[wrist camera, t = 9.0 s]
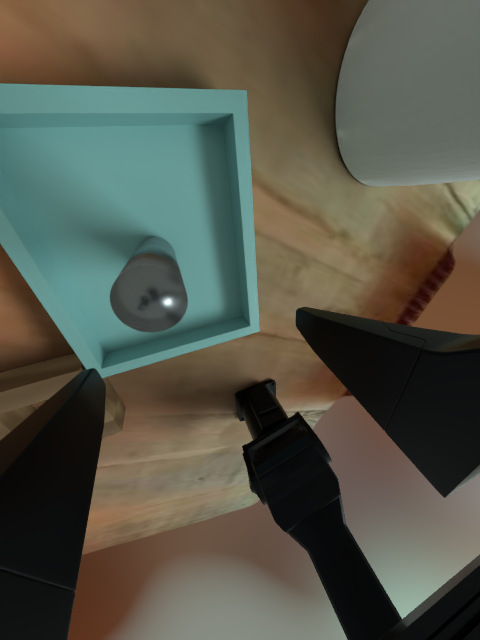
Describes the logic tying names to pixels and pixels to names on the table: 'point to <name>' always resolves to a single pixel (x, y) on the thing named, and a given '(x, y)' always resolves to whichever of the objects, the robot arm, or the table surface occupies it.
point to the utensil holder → (411, 93)
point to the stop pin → (150, 288)
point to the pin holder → (48, 392)
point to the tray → (129, 209)
